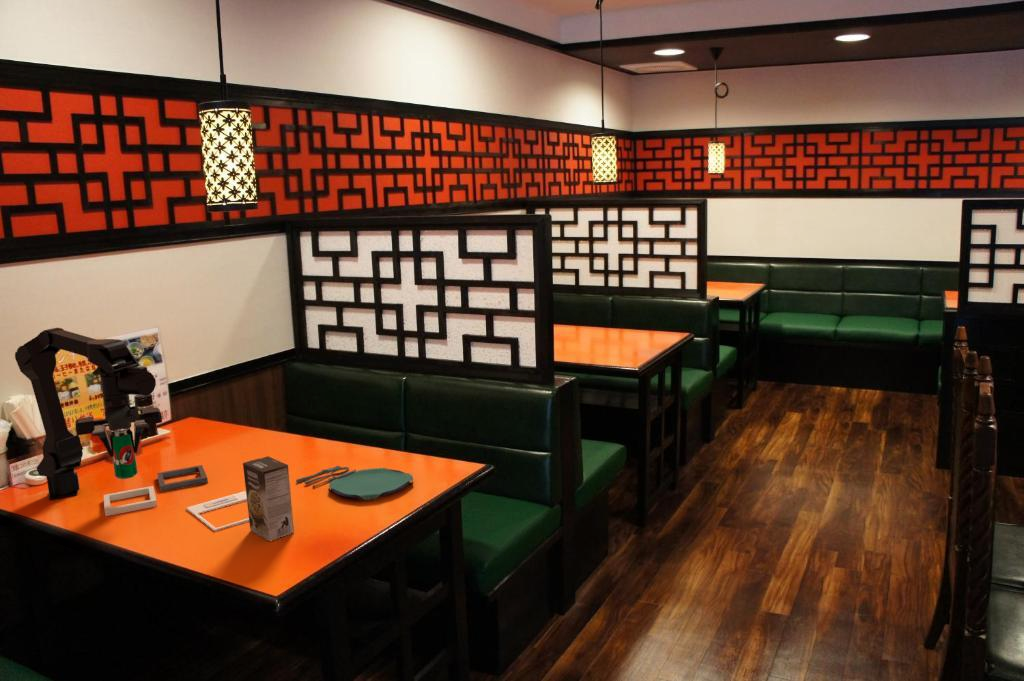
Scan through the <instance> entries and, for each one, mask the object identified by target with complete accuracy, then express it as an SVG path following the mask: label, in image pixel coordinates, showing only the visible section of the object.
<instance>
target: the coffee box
mask: <svg viewBox="0 0 1024 681" xmlns="http://www.w3.org/2000/svg"><path fill="white" fill-rule="evenodd" d="M242 467H243V468H242V469H243V475H244V484H245V485H244V486H245V491H246V495H247V501H246V504H247V513H248V518H249V521H248V522H249V528H250V532H252V533H253V534H255V535H257V536H259V537H261V538H262V539H264V540H266V541H267V540H268V542H269V541H271V540H274V539H276V540H278V539H277V538H279V539H281V538H280V537H282V538H284V537H283V536H285V537H287V536H286V535H288V536H290V535H292V534H291V533H293V534H295V529H294V518H293V507H292V492H291V482H290V473H289V472H290V471H289V465H288V464H287V463H284V462H282V461H280V460H278V459H276V458H274V457H271V456H263V457H261V458H255V459H251V460H248V461H245V462H242ZM289 534H290V535H289ZM274 541H275V540H274ZM271 542H272V541H271Z"/></svg>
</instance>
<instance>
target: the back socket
mask: <svg viewBox="0 0 1024 681" xmlns="http://www.w3.org/2000/svg"><path fill="white" fill-rule="evenodd" d="M197 473H198V475H199V477H195V478H190V479H184V480H179V481H174V482H168V483H165V479H171V478H175V477H180V476H186V475H192V474H197ZM156 477H157V482H158V484H159V485H158V486H159V488H160V489H159V490H160V492H161V493H163V492H168V491H172V489H173V490H178V489H177V488H179V489H182V487H184V488H189V487H194V485H195V486H199V485H205V484H208V483H209V480H208V476H207V474H206V470H205V469H204V466H203V464H201V465H195V466H190V467H184V468H179V469H178V468H177V469H172V470H167V471H161V472H157V473H156Z"/></svg>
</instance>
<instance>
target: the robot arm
mask: <svg viewBox="0 0 1024 681" xmlns="http://www.w3.org/2000/svg"><path fill="white" fill-rule="evenodd" d="M61 350H62V351H66V352H69V353H72V354H75V355H78V356H81V357H85V358H86V359H87V360H88V362H89V363H90V364H92V365H94V366H96V368H95V369H94V370H93V371H92V375H95V376H99V379H100V386H101V394H102V402H103V408H104V409H103V410H104V418H101V419H95V417H94V416H87V417H80V418H77V419H76V420H75V426H74V427H75V432H76V434H73V433H72V432H71V431H70V430H69V429H68V425H67V421H66V417H65V415H64V414H65V413H64V411H63V407H62V404H61V400H60V396H59V393H58V389H57V386H56V382H55V379H54V372H55V369H56V366H57V357H56V355H57V354H58V353H59V352H60V351H61ZM14 358H15V361H16V363H17V366H18V369H19V371H20V372H21V373H22V374H23V376H25V377H26V378H27V379H28V380H29V381H30V383H31V386H32V390H33V393H34V398H35V401H36V404H37V409H38V412H39V415H40V419H41V422H42V426H43V428H44V433H45V438H44V441H43V444H42V455H43V458H42V459H41V461H40V462H39V464H38V465H37V467H36V471H37V473H38V475H39V476H41V477H45V478H46V484H47V490H48V500H55V499H60V498H67V497H72V496H76V495H78V494H79V490H80V479H79V474H78V472H76V470H75V469H76V468H79V467H81V464H82V458H83V454H84V453H83V450H84V447H83V445H82V442H81V437H80V436H82V435H90V434H91V436H93V437H97V438H99V440H100V441H101V442H102V443H103V445H104V447H105V450H106V451H107V453H108V455H109V457H110V458H113V457H112V450H111V442H110V438H109V436H108V432H107V428H106V427H108V430H109V431H110V432H111V431H116V430H118V429H129V428H130V429H131V428H132V423H133V441H134V449H135V454H137V453H138V450H139V446H140V445H139V444H140V440H141V436H142V434H143V431H145V429H148V428H149V425H155V424H161V423H163V418H162V411H161V409H160V408H159V407H156V406H155V407H149V408H142V412H141V413H140V412H139V406H138V405H133V406H131V402H130V395H131V396H132V395H133V396H150V395H151V394H152V393H153V392H154V390H155V389H156V384H157V381H156V378H155V376H154V375H153V373H151V372H150V371H148V367H147V366H144V365H143V366H140V363H139V362H138V359H136V357H135V356H134V355H133V354H132V351H131V350H130V349H129V347H128V346H127V345H126V343H125V342H124V340H121V339H116V338H114V339H113V338H103V339H97V338H92V337H90V336H85V335H83V334H82V335H81V334H79V333H74V332H71V331H69V330H65V329H63V328H62V327H53V328H47V329H43V330H42V331H41V332H39V333H38V334H37V336H35V337H33V338H32V339H31V340H28V341H27V342H25V343H24V344H23V345H20V346H18V348H17V349H16V351H15V353H14Z"/></svg>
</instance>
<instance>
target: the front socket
mask: <svg viewBox="0 0 1024 681" xmlns="http://www.w3.org/2000/svg"><path fill="white" fill-rule="evenodd" d="M144 495H149V499H148V500H143V501H138V502H132V503H127V504H122V505H117V506H111V502H113V501H119V500H123V499H130V498H134V497H139V496H144ZM157 501H158V500H157V496H156V492H155V488H154V485H151V486H145V487H140V488H135V489H134V488H133V489H129V490H123V491H118V492H113V493H108V494H103V504H104V505H103V506H104V514H105V517H108V516H114V515H119V514H123V513H124V514H125V513H128V512H135V511H139V510H140V511H141V510H144V509H149V508H154V507H158V503H157Z"/></svg>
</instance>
